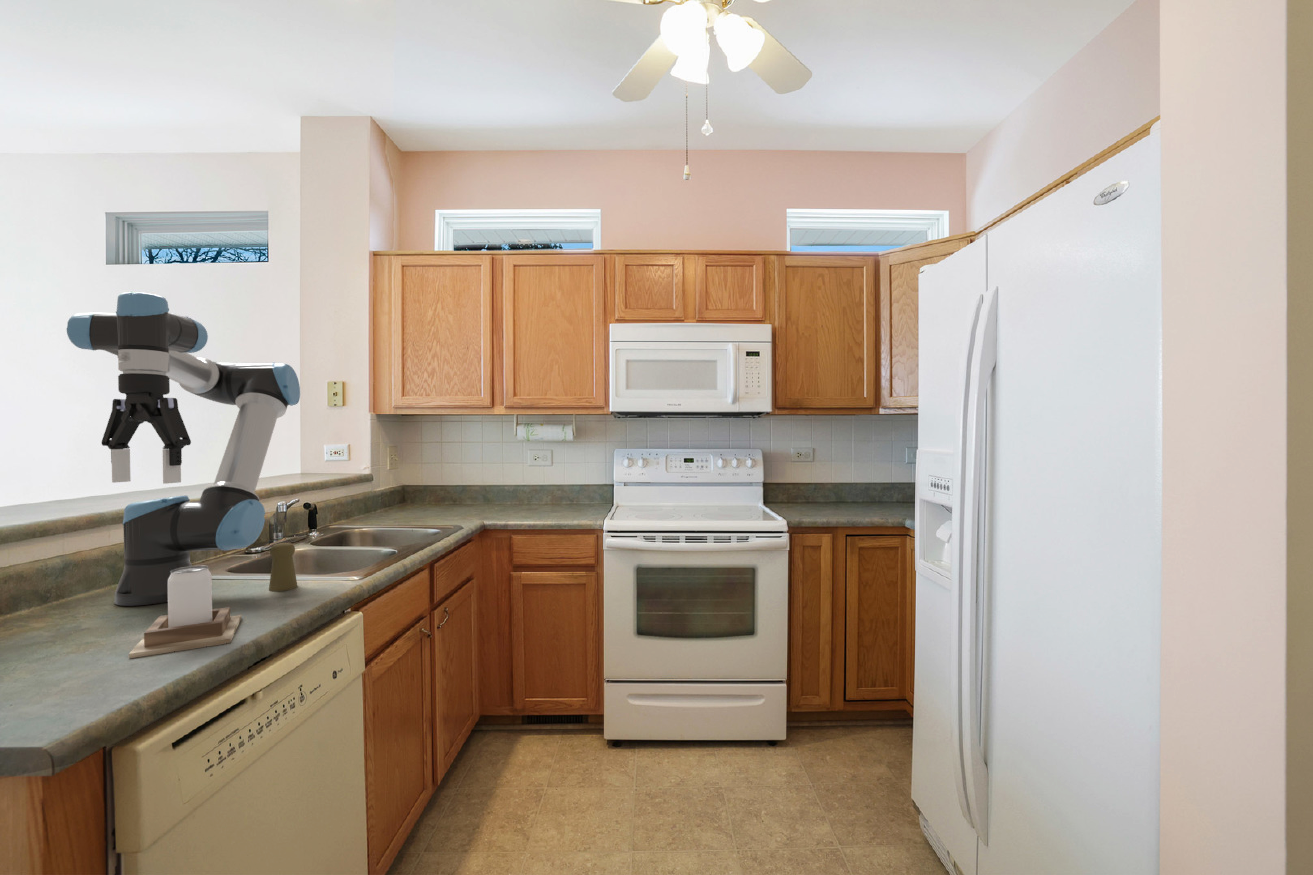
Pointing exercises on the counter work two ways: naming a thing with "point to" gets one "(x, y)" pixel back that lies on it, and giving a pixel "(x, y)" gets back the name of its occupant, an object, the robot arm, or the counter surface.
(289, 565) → the cork
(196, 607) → the can
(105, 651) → the counter surface
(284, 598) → the counter surface
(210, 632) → the keeper board
